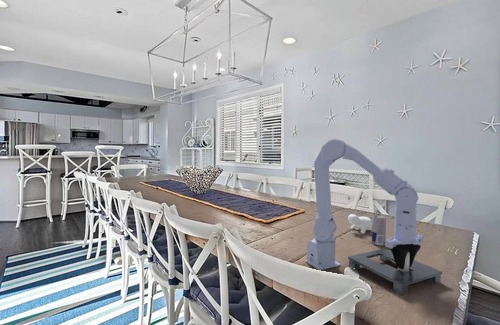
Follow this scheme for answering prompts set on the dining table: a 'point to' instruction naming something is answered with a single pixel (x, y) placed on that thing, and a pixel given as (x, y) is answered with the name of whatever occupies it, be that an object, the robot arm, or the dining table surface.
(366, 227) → the white animal figurine
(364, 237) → the dining table surface
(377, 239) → the energy drink
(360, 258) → the keyhole plate
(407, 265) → the keyhole peg
